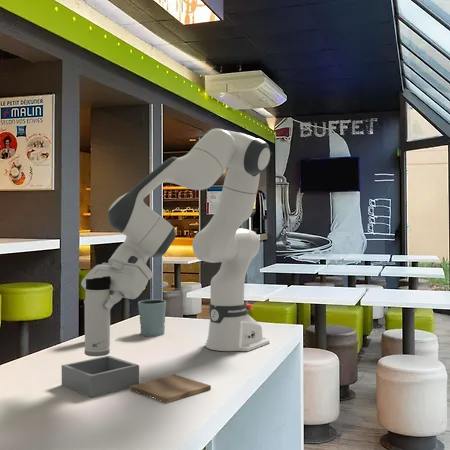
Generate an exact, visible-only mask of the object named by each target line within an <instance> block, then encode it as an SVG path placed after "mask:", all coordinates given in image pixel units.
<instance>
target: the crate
mask: <svg viewBox="0 0 450 450" xmlns="http://www.w3.org/2000/svg"><path fill="white" fill-rule="evenodd" d="M139 383H140V365H139V364H136V363H133V362H131V361H129V360H128V361H127V360H123V359H121V358H118V357H114V356H112V355H105V356H98V357H95V358H90V359H85V360H80V361H75V362H71V363H67V364H62V365H61V385H62V386H63V387H65V388H69V389H71V390H73V391H75V392H78V393H80V394H82V395H85V396H87V397H89V398H93V397H98V396H102V395H105V394H109V393H112V392H116V391H120V390H123V389H127V388H131V386H132V385H135V384H139Z"/></svg>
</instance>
